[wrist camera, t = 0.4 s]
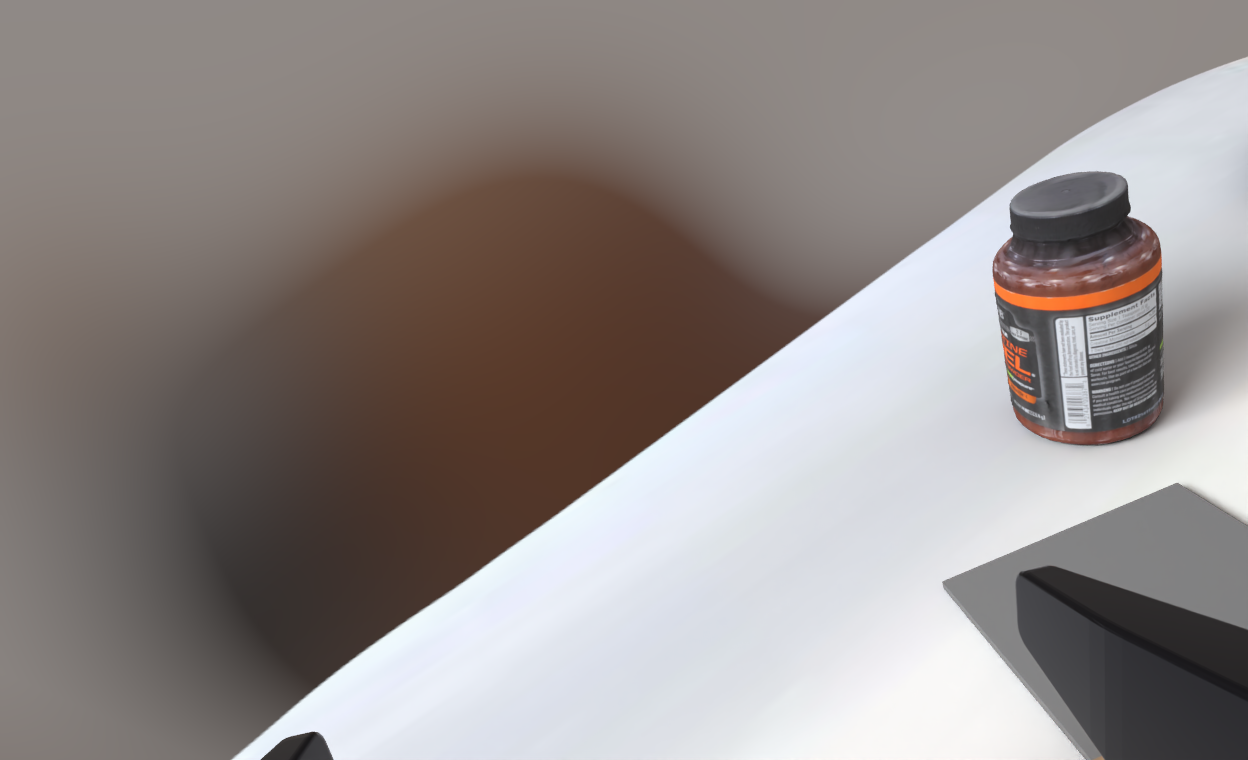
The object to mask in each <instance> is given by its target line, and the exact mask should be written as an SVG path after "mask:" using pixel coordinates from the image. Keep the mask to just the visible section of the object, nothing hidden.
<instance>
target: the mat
mask: <svg viewBox="0 0 1248 760" xmlns="http://www.w3.org/2000/svg"><path fill="white" fill-rule="evenodd" d="M1046 565H1052V566H1056V567H1059V568H1062V569H1065V570H1068V571H1072V572H1075V573H1078V574H1081V575H1084V576H1087V577H1090V578H1093V579H1096V580H1099V581H1102V582H1105V583H1108V584H1111V585H1114V586H1117V587H1120V588H1123V589H1126V590H1130V591H1133V592H1136V593H1139V594H1142V595H1145V596H1148V597H1151V598H1154V599H1157V600H1160V601H1163V602H1166V603H1169V604H1172V605H1175V606H1178V607H1181V608H1185V609H1188V610H1191V611H1194V612H1197V613H1200V614H1203V615H1206V616H1209V617H1212V618H1215V619H1218V620H1221V621H1224V622H1227V623H1230V624H1233V625H1236V626H1240V627H1243V628H1246V629H1248V526H1247V525H1245V524H1243V523H1242V522H1240V521H1239V520H1237V519H1235V518H1234V517H1232V516H1230V515H1229V514H1227V513H1226V512H1224V511H1222V510H1221V509H1219V508H1218V507H1216V506H1214V505H1213V504H1211V503H1209V502H1208V501H1206V500H1205V499H1203V498H1201V497H1200V496H1198V495H1197V494H1195V493H1193V492H1192V491H1190V490H1188V489H1187V488H1185V487H1184V486H1182V485H1180V484H1179V483H1175V484H1173V485H1171V486H1168V487H1166V488H1164V489H1161V490H1159V491H1156V492H1154V493H1152V494H1149V495H1147V496H1145V497H1142V498H1140V499H1137V500H1135V501H1133V502H1130V503H1128V504H1126V505H1123V506H1121V507H1118V508H1116V509H1114V510H1111V511H1109V512H1107V513H1104V514H1102V515H1099V516H1097V517H1095V518H1092V519H1090V520H1088V521H1085V522H1083V523H1080V524H1078V525H1076V526H1073V527H1071V528H1069V529H1066V530H1064V531H1061V532H1059V533H1057V534H1054V535H1052V536H1050V537H1047V538H1045V539H1042V540H1040V541H1038V542H1035V543H1033V544H1031V545H1028V546H1026V547H1023V548H1021V549H1019V550H1016V551H1014V552H1012V553H1009V554H1007V555H1004V556H1002V557H1000V558H997V559H995V560H993V561H990V562H988V563H985V564H983V565H981V566H978V567H976V568H974V569H971V570H969V571H966V572H964V573H962V574H959V575H957V576H955V577H952V578H950V579H947V580H945V581H943V582H942V583H943V587H944V589H945V590H946V592H947V593H948V594H949V595H950V596H951V598H952V599H953V600H954V601H955V602H956V604H957V605H958V606H959V607H960V608H961V610H962V611H963V612H964V613H965V614H966V616H967V617H968V618H969V619H970V620H971V622H972V623H973V624H974V625H975V627H976V628H977V629H978V630H979V631H980V633H981V634H982V635H983V636H984V637H985V639H986V640H987V641H988V642H989V643H990V645H991V646H992V647H993V648H994V649H995V651H996V652H997V653H998V654H999V655H1000V657H1001V658H1002V659H1003V660H1004V661H1005V663H1006V664H1007V665H1008V666H1009V668H1010V669H1011V670H1012V671H1013V672H1014V674H1015V675H1016V676H1017V677H1018V678H1019V680H1020V681H1021V682H1022V683H1023V684H1024V686H1025V687H1026V688H1027V689H1028V690H1029V692H1030V693H1031V694H1032V695H1033V696H1034V698H1035V699H1036V700H1037V701H1038V702H1039V704H1040V705H1041V706H1042V707H1043V708H1044V710H1045V711H1046V712H1047V713H1048V715H1049V716H1050V717H1051V718H1052V719H1053V721H1054V722H1055V723H1056V724H1057V725H1058V727H1059V728H1060V729H1061V730H1062V731H1063V733H1064V734H1065V735H1066V736H1067V737H1068V739H1069V740H1070V741H1071V742H1072V743H1073V745H1074V746H1075V747H1076V748H1077V749H1078V751H1079V752H1080V753H1081V754H1082V756H1083V757H1084V758H1085V759H1086V760H1093V759H1096V758H1098V757H1101V754H1100V753H1099V752H1098V750H1097V749H1096V748H1095V746H1094V745H1093V743H1092V742H1091V741H1090V739H1089V738H1088V736H1087V735H1086V733H1085V732H1084V731H1083V729H1082V728H1081V726H1080V725H1079V723H1078V722H1077V720H1076V719H1075V718H1074V716H1073V715H1072V713H1071V712H1070V710H1069V709H1068V707H1067V706H1066V705H1065V703H1064V702H1063V700H1062V699H1061V697H1060V696H1059V694H1058V693H1057V692H1056V690H1055V689H1054V687H1053V686H1052V684H1051V683H1050V681H1049V680H1048V679H1047V677H1046V676H1045V674H1044V673H1043V671H1042V670H1041V668H1040V667H1039V666H1038V664H1037V663H1036V661H1035V660H1034V658H1033V657H1032V655H1031V654H1030V653H1029V651H1028V650H1027V648H1026V647H1025V645H1024V643H1023V641H1022V639H1021V637H1020V634H1019V631H1018V626H1017V610H1016V591H1015V579H1016V576H1017V575H1018V573H1020V572H1021V571H1023V570H1028V569H1032V568H1037V567H1041V566H1046Z"/></svg>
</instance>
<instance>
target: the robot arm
mask: <svg viewBox="0 0 1248 760" xmlns="http://www.w3.org/2000/svg"><path fill="white" fill-rule="evenodd" d="M1015 591H1016V610H1017V626H1018V631H1019V634H1020V637H1021V639H1022V641H1023V643H1024V645H1025V647H1026V648H1027V650H1028V651H1029V653H1030V654H1031V655H1032V657H1033V658H1034V660H1035V661H1036V663H1037V664H1038V666H1039V667H1040V668H1041V670H1042V671H1043V673H1044V674H1045V676H1046V677H1047V679H1048V680H1049V681H1050V683H1051V684H1052V686H1053V687H1054V689H1055V690H1056V692H1057V693H1058V694H1059V696H1060V697H1061V699H1062V700H1063V702H1064V703H1065V705H1066V706H1067V707H1068V709H1069V710H1070V712H1071V713H1072V715H1073V716H1074V718H1075V719H1076V720H1077V722H1078V723H1079V725H1080V726H1081V728H1082V729H1083V731H1084V732H1085V733H1086V735H1087V736H1088V738H1089V739H1090V741H1091V742H1092V743H1093V745H1094V746H1095V748H1096V749H1097V750H1098V752H1099V753H1100V754H1101V756H1102V757H1103V758H1104V760H1248V629H1246V628H1243V627H1240V626H1236V625H1233V624H1230V623H1227V622H1224V621H1221V620H1218V619H1215V618H1212V617H1209V616H1206V615H1203V614H1200V613H1197V612H1194V611H1191V610H1188V609H1185V608H1181V607H1178V606H1175V605H1172V604H1169V603H1166V602H1163V601H1160V600H1157V599H1154V598H1151V597H1148V596H1145V595H1142V594H1139V593H1136V592H1133V591H1130V590H1126V589H1123V588H1120V587H1117V586H1114V585H1111V584H1108V583H1105V582H1102V581H1099V580H1096V579H1093V578H1090V577H1087V576H1084V575H1081V574H1078V573H1075V572H1072V571H1068V570H1065V569H1062V568H1059V567H1056V566H1052V565H1046V566H1041V567H1037V568H1032V569H1028V570H1023V571H1021V572H1020V573H1018V575H1017V576H1016V579H1015ZM261 760H333V757H332V755H331V753H330V750H329V748H328V746H327V743H326V741H325V739H324V737H323V736H322V735H321V734H320V733H318V732H309V733H305V734H300V735H296V736H291V737H288V738H286V739H284V740H282V741H281V742H280V743H279V744H277V745H276V746H275V747H274V748H273V749H272V750H271V751H270V752H269V753H267V754H266V755H265V756H264V757H263V758H262V759H261Z"/></svg>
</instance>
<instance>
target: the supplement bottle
mask: <svg viewBox="0 0 1248 760" xmlns="http://www.w3.org/2000/svg"><path fill="white" fill-rule="evenodd" d="M1130 209H1131V207H1130V203H1129V199H1128V185H1127V181H1126V179H1124V178H1123V177H1122V176H1121V175H1116V174H1114V173H1110V172H1098V171H1097V172H1078V173H1072V174H1066V175H1062V176H1057V177H1054V178H1051V179H1048V180H1044V181H1042V182H1039V183H1037V184H1034V185H1032V186H1029V187H1028V188H1026V189H1024V190H1022V191H1021V192H1019V193H1018V194H1017V195H1016V196H1015V197H1014V198H1013V199H1012V200H1011V203H1010V219H1011V225H1010V229H1011V231H1012V232H1013V237H1012V238H1010V239H1009V240H1008V241H1007V242H1006V243H1005V244H1004V245H1003V246H1002V247H1001V248H1000V249H999V251H998V252H997V254H996V256H995V259H994V261H993V279H994V287H995V297H996V304H997V309H998V315H999V322H1000V328H1001V334H1002V343H1003V348H1004V356H1005V364H1006V369H1007V375H1008V384H1009V389H1010V396H1011V402H1012V405H1013V409H1014V412H1015V414H1016V417H1017V419H1018V420H1019V421H1020V422H1021V423H1022V425H1023V426H1025V427H1026V428H1027V429H1029V430H1030V431H1032V432H1033V433H1035V434H1037V435H1039V436H1041V437H1043V438H1047V439H1049V440H1052V441H1058V442H1062V443H1067V444H1079V445H1091V444H1095V445H1098V444H1108V443H1111V442H1116V441H1118V440H1123V439H1126V438H1130V437H1132V436H1133V435H1136V434H1138V433H1140V432H1142V431H1143V430H1146V429H1147V428H1149V427H1150V426H1151V425H1152V424H1153V423H1154V422H1155V421H1156V419H1157V418H1158V416H1159V414H1160V412H1161V410H1162V406H1163V395H1164V380H1163V379H1164V372H1163V370H1164V369H1163V310H1162V306H1163V304H1162V267H1161V266H1162V259H1161V248H1160V242H1159V238H1158V236H1157V235H1156V233H1155V232H1154V231H1153V230H1152V229H1151V227H1149V226H1148V225H1146V224H1145V223H1143V222H1141V221H1139V220H1137V219H1134V218H1131V217H1128V216H1127V215H1128V214H1129V213H1130Z"/></svg>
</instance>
